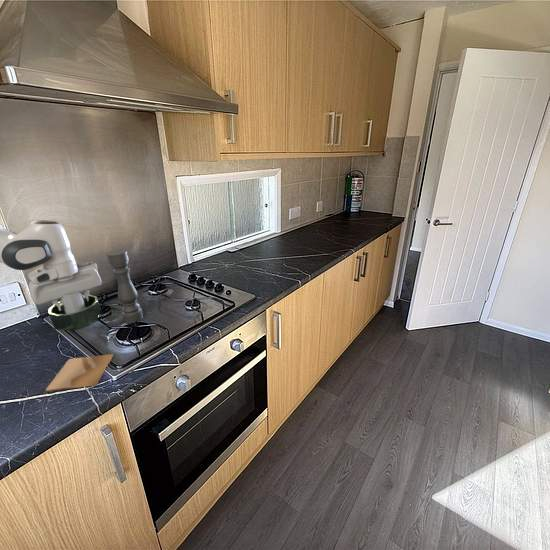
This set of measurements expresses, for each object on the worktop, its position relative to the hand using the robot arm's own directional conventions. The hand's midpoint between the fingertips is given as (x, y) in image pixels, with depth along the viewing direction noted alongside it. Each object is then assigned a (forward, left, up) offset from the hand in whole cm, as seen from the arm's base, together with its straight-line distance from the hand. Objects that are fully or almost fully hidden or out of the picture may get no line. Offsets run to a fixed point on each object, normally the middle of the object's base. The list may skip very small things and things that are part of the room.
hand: (74, 305), depth 102 cm
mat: (+14, -30, -6) cm, 34 cm away
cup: (0, 0, -6) cm, 6 cm away
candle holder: (+20, -4, -6) cm, 21 cm away
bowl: (0, 0, -6) cm, 6 cm away
